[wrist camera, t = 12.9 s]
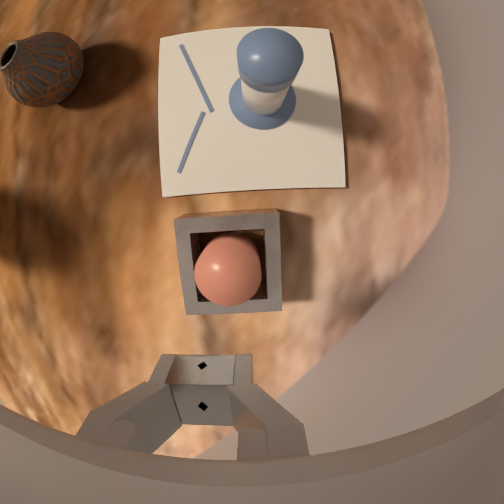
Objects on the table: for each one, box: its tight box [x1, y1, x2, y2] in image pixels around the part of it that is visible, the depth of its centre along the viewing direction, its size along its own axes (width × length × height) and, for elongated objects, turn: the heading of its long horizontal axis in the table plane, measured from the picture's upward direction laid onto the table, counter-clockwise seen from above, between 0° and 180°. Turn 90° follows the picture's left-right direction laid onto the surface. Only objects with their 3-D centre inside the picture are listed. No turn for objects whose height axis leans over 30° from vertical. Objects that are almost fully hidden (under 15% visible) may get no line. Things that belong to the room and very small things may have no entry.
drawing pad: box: [158, 26, 346, 197], centre depth 19 cm, size 14×14×1 cm
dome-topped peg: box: [237, 28, 304, 116], centre depth 14 cm, size 3×3×8 cm
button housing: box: [174, 208, 282, 315], centre depth 20 cm, size 7×7×3 cm
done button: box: [194, 232, 261, 306], centre depth 19 cm, size 4×4×3 cm
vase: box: [0, 32, 84, 108], centre depth 13 cm, size 7×7×9 cm
